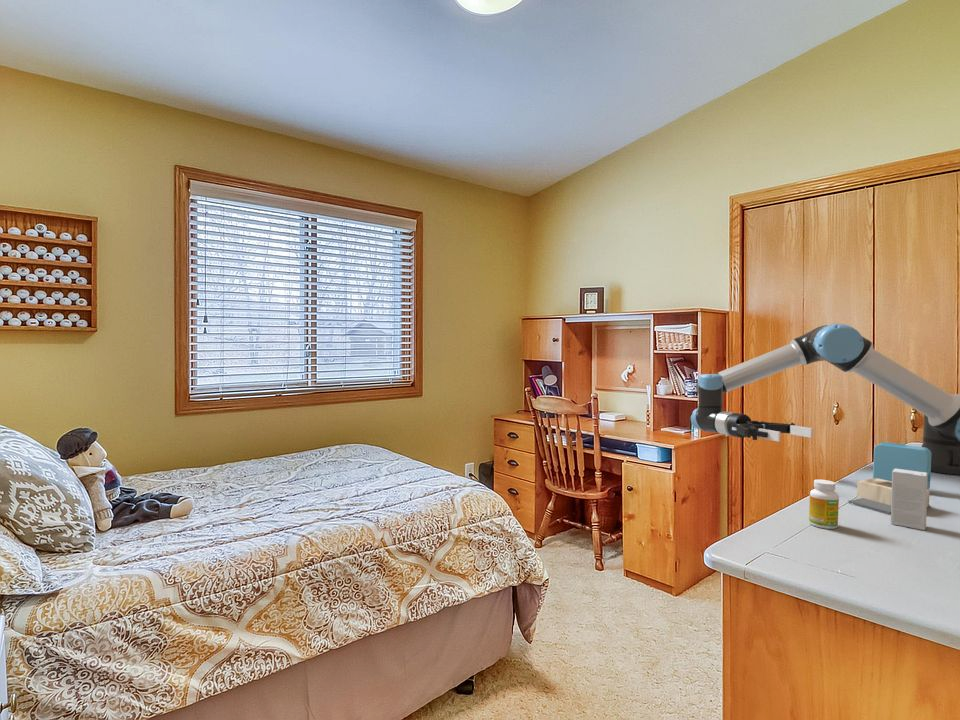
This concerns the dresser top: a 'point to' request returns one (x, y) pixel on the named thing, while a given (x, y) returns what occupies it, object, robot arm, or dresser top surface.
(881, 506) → the charcoal mat
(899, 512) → the skincare box
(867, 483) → the maple block
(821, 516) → the supplement bottle
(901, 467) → the data package
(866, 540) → the dresser top surface
